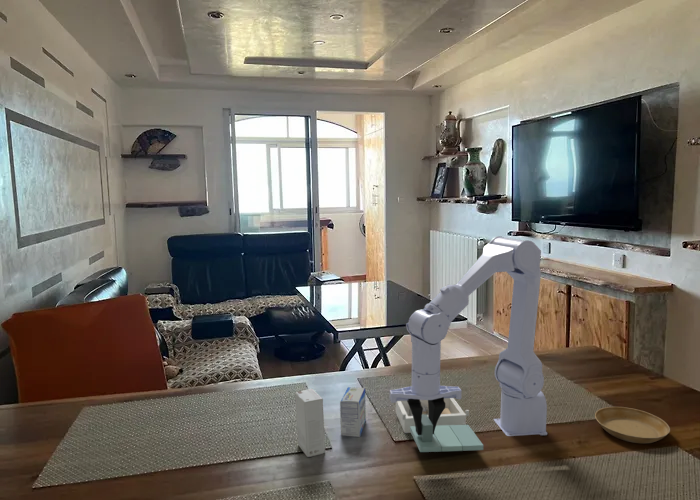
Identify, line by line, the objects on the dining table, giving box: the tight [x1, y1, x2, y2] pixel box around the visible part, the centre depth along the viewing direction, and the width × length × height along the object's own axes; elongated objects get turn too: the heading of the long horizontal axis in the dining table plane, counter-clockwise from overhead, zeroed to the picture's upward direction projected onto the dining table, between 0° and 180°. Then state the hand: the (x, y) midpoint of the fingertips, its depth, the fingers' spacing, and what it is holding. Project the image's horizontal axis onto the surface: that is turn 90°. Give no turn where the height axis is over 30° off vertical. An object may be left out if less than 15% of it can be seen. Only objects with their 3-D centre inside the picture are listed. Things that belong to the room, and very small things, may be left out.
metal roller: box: [409, 406, 428, 416], centre depth 119 cm, size 4×2×2 cm
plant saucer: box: [594, 406, 671, 444], centre depth 113 cm, size 15×15×3 cm
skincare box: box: [294, 388, 326, 458], centre depth 106 cm, size 6×4×12 cm
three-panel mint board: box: [410, 414, 484, 453], centre depth 104 cm, size 13×9×4 cm
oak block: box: [441, 408, 451, 414], centre depth 116 cm, size 4×3×2 cm
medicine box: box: [339, 386, 367, 438], centre depth 114 cm, size 8×4×9 cm, turn 168°
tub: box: [395, 398, 470, 434], centre depth 117 cm, size 15×11×5 cm
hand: (424, 432), depth 103 cm, fingers closed on three-panel mint board, 2 cm apart
